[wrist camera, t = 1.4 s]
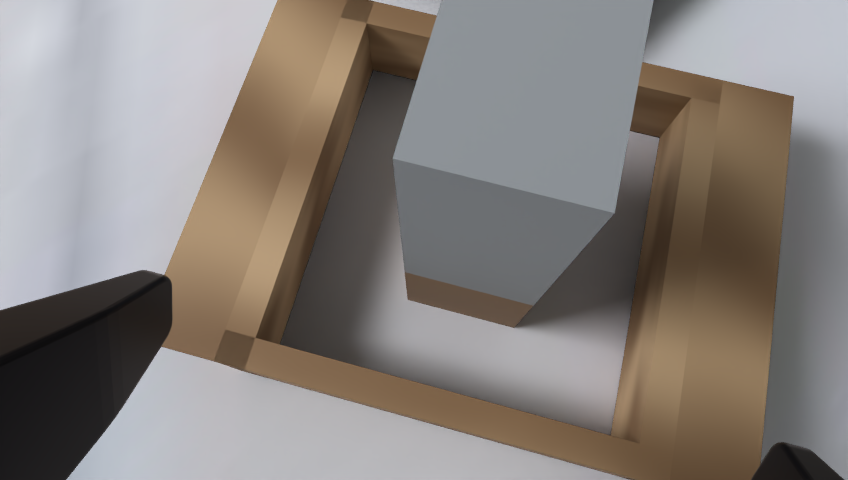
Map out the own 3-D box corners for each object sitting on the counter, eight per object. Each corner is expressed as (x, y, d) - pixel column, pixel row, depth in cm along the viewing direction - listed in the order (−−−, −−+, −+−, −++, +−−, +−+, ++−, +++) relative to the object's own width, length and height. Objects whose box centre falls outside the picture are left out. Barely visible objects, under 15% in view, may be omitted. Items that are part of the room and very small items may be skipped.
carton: (708, 501, 20) (755, 512, 17) (175, 352, 22) (137, 339, 19) (750, 136, 24) (793, 96, 21) (300, 31, 26) (285, -19, 23)
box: (514, 327, 22) (614, 212, 10) (407, 299, 22) (392, 158, 11) (546, 180, 24) (664, -56, 12) (448, 156, 24) (471, -97, 13)
